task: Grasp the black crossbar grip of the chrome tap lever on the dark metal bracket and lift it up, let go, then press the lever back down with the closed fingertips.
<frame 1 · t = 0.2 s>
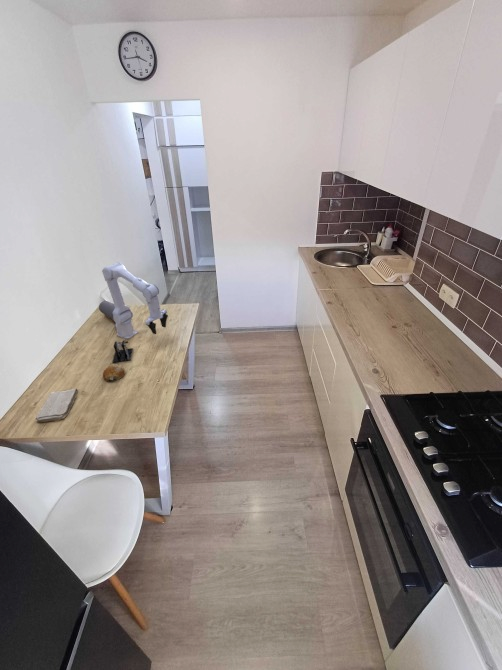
hand: (159, 330, 173), 10 cm above the table, tool pointing down, fingers open, 7 cm apart
tap bracket: (123, 356, 170), on the table
bread roll: (114, 376, 156), on the table
washcloth: (58, 407, 140), on the table
tap lever: (121, 344, 170), point 6 cm above the table, hinge at -20.0°
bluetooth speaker: (115, 319, 208), on the table
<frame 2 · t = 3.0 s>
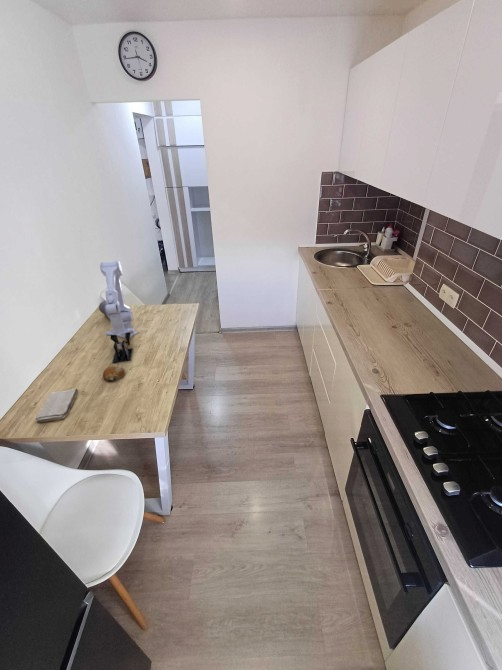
hand: (123, 345, 175), 3 cm above the table, tool pointing down, fingers closed on tap lever, 5 cm apart
tap lever: (121, 344, 170), point 6 cm above the table, hinge at -20.0°, touching gripper
everything else where it was.
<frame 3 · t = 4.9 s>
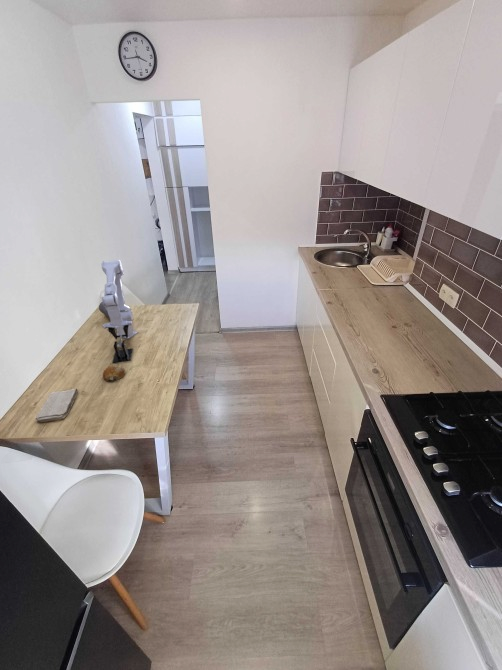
hand: (121, 337, 173), 7 cm above the table, tool pointing down, fingers closed on tap lever, 5 cm apart
tap lever: (120, 341, 169), point 8 cm above the table, hinge at 10.7°, touching gripper
everything else where it was.
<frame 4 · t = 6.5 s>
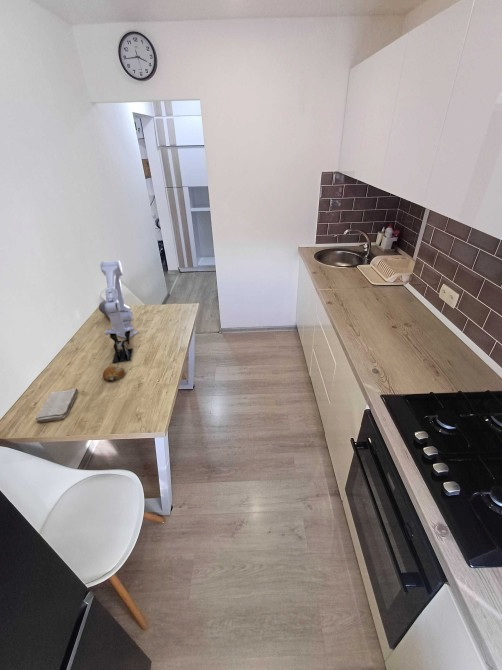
hand: (123, 343, 175), 3 cm above the table, tool pointing down, fingers closed on tap lever, 5 cm apart
tap lever: (121, 343, 170), point 6 cm above the table, hinge at -14.0°, touching gripper
everything else where it was.
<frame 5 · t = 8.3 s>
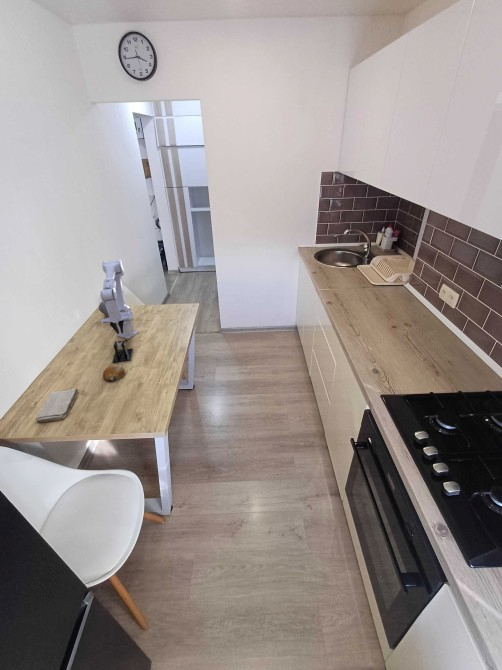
hand: (120, 333, 171), 10 cm above the table, tool pointing down, fingers closed
tap lever: (121, 343, 170), point 6 cm above the table, hinge at -14.3°
everything else where it was.
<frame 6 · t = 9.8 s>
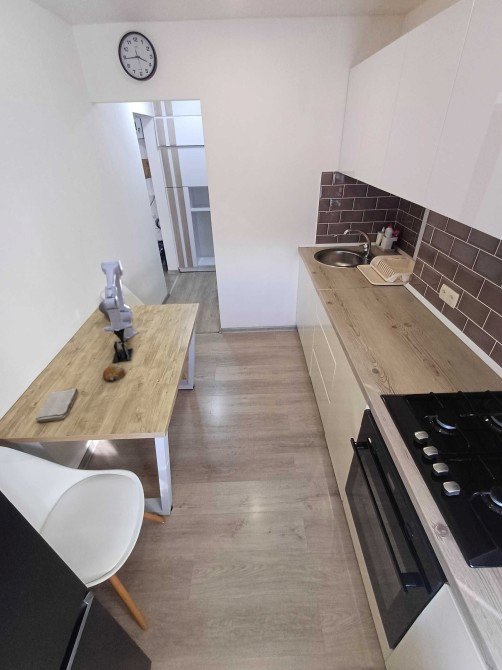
hand: (122, 340, 174), 6 cm above the table, tool pointing down, fingers closed, pressing on tap lever
tap lever: (121, 344, 170), point 6 cm above the table, hinge at -16.2°, touching gripper
everything else where it was.
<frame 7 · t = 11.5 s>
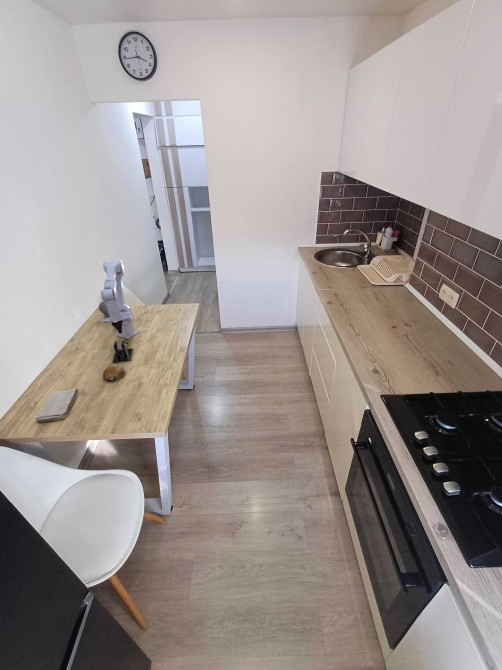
hand: (120, 332, 173), 10 cm above the table, tool pointing down, fingers closed
tap lever: (121, 345, 170), point 6 cm above the table, hinge at -25.0°
everything else where it was.
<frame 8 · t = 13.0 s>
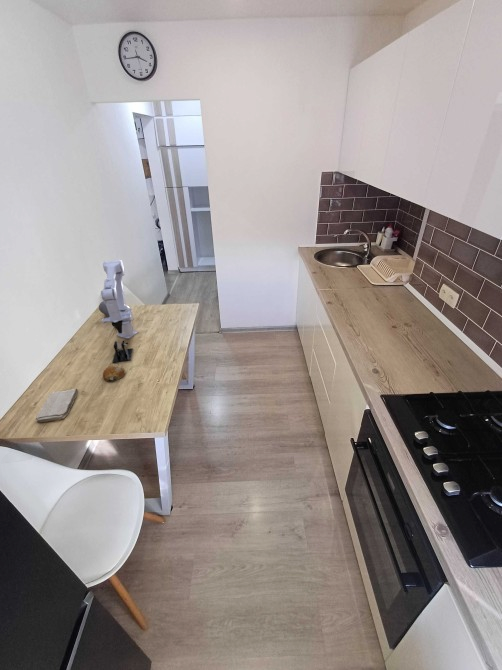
hand: (120, 332, 173), 10 cm above the table, tool pointing down, fingers closed
nothing on the table moved.
at the end: tap lever reached +11° during the clip, -25° at the end; tap lever at -25° (first picture: -20°) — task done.
